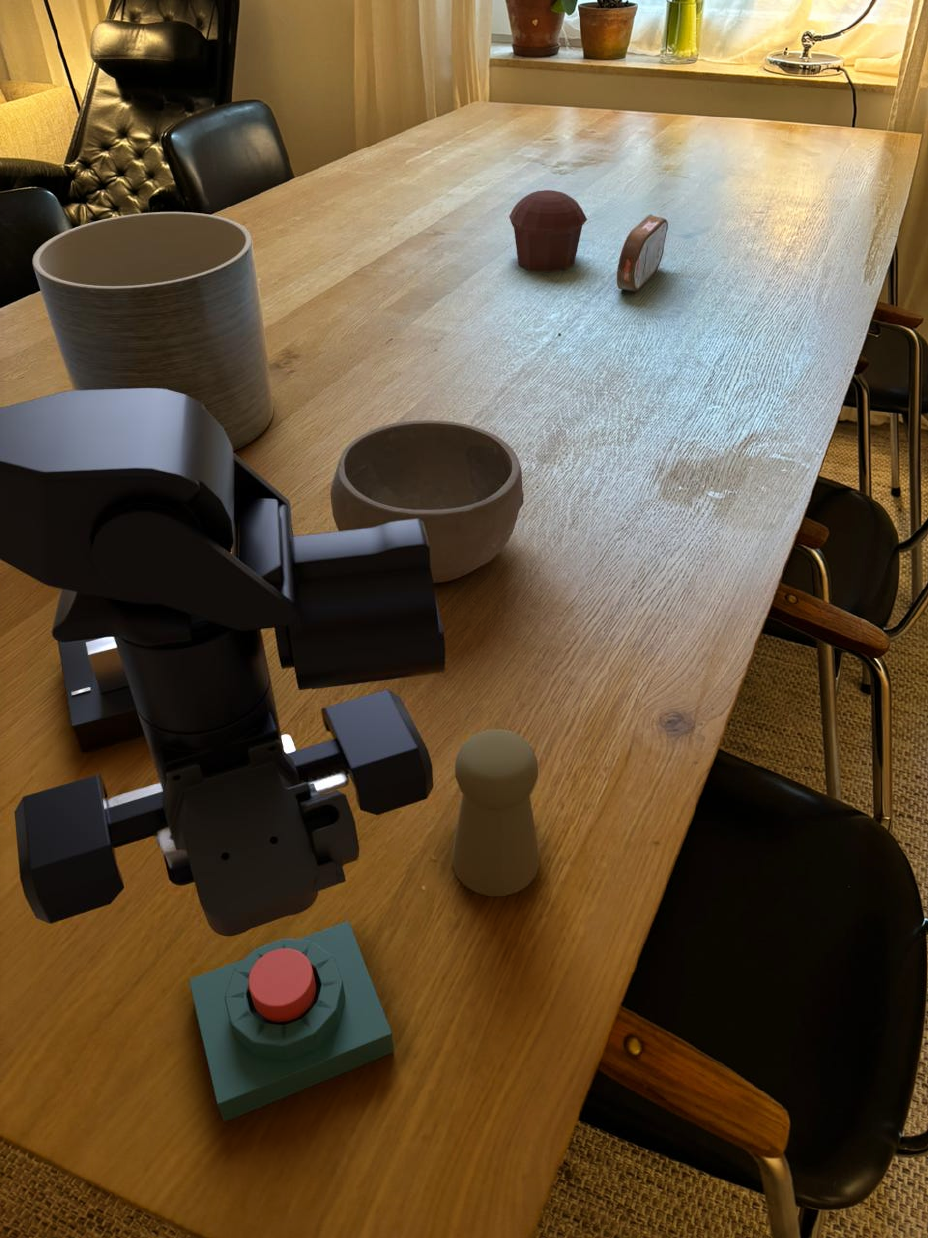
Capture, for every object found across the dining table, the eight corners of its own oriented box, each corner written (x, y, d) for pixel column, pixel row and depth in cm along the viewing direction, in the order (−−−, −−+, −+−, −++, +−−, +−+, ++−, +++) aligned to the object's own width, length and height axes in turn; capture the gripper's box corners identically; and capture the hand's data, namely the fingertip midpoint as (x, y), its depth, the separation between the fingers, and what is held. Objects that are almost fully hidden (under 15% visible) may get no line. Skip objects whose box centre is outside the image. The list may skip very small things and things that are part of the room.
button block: (224, 1123, 55) (211, 1089, 52) (195, 998, 60) (182, 962, 58) (394, 1052, 58) (390, 1017, 55) (351, 940, 63) (346, 903, 61)
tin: (646, 262, 152) (652, 205, 146) (666, 265, 151) (673, 208, 145) (612, 297, 142) (617, 238, 136) (633, 301, 140) (639, 241, 135)
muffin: (494, 264, 152) (494, 196, 146) (533, 243, 159) (534, 177, 152) (560, 281, 147) (563, 211, 140) (597, 258, 153) (602, 190, 147)
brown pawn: (459, 818, 71) (456, 709, 64) (544, 829, 70) (550, 720, 63) (444, 890, 66) (438, 781, 59) (534, 902, 65) (540, 793, 58)
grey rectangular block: (101, 693, 77) (86, 652, 74) (98, 680, 78) (84, 639, 75) (166, 675, 78) (154, 634, 75) (162, 662, 79) (151, 622, 76)
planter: (241, 477, 106) (207, 293, 93) (48, 462, 109) (-11, 282, 96) (301, 382, 123) (279, 215, 110) (132, 371, 126) (92, 207, 113)
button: (261, 1032, 55) (256, 1016, 54) (246, 977, 57) (241, 961, 56) (324, 1008, 56) (320, 992, 55) (306, 955, 58) (302, 939, 57)
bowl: (531, 508, 101) (534, 420, 94) (505, 619, 87) (506, 525, 81) (367, 493, 103) (359, 406, 97) (317, 599, 90) (304, 506, 83)
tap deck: (83, 764, 75) (72, 735, 73) (66, 664, 84) (56, 636, 82) (264, 710, 79) (258, 682, 77) (230, 621, 88) (224, 593, 86)
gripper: (-22, 910, 34) (94, 1112, 44) (477, 750, 39) (478, 962, 50) (-32, 700, 42) (68, 912, 52) (385, 590, 47) (402, 801, 57)
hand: (256, 898), depth 53 cm, fingers closed
